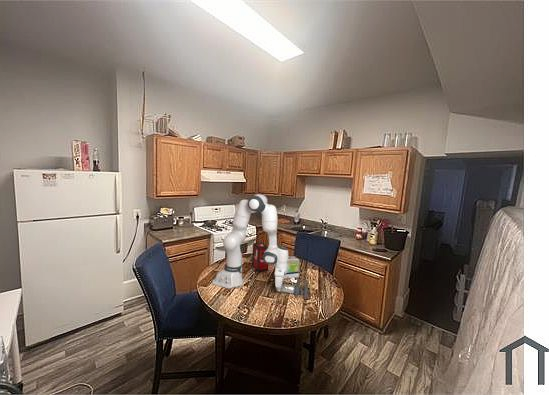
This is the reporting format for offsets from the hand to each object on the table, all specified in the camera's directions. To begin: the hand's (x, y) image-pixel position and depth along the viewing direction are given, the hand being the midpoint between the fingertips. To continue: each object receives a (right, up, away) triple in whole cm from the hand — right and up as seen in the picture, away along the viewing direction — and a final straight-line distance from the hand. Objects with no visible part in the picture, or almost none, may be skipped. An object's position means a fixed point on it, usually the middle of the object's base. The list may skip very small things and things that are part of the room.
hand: (280, 287), depth 159 cm
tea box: (+7, 0, +24) cm, 25 cm away
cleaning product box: (-17, +2, +37) cm, 41 cm away
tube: (+6, -3, -1) cm, 7 cm away
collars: (+16, -3, -3) cm, 17 cm away
